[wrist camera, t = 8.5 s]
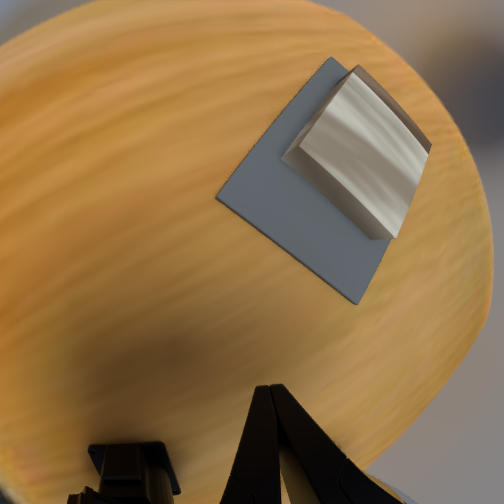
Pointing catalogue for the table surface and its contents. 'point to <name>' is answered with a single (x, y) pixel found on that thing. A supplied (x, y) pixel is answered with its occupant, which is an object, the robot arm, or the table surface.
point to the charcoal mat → (302, 200)
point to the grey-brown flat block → (362, 154)
